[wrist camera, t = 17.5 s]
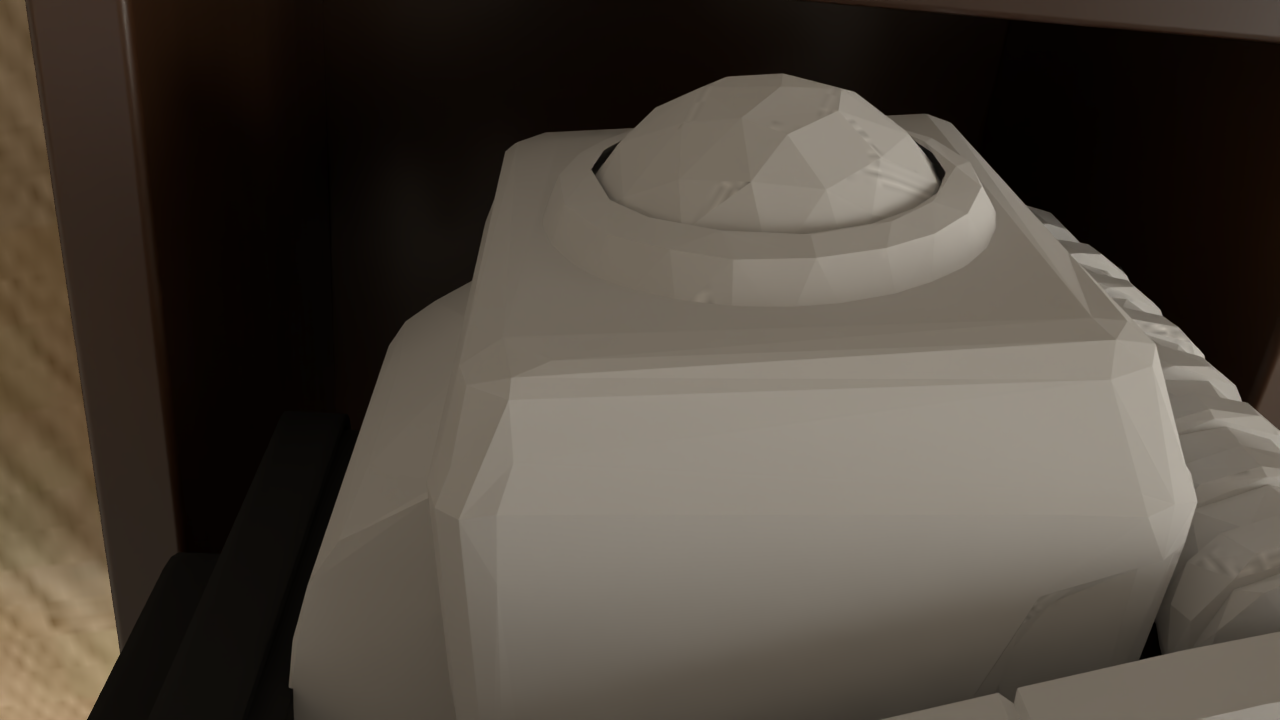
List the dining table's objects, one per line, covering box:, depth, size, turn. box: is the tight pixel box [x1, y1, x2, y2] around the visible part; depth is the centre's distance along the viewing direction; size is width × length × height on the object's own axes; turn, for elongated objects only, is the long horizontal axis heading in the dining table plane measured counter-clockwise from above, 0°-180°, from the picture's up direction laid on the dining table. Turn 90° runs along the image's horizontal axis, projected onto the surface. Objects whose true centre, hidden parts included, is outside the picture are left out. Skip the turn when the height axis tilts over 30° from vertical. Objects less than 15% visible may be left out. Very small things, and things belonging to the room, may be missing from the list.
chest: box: [25, 0, 1280, 653], centre depth 14 cm, size 12×10×8 cm
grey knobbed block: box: [289, 73, 1280, 720], centre depth 9 cm, size 6×7×10 cm
